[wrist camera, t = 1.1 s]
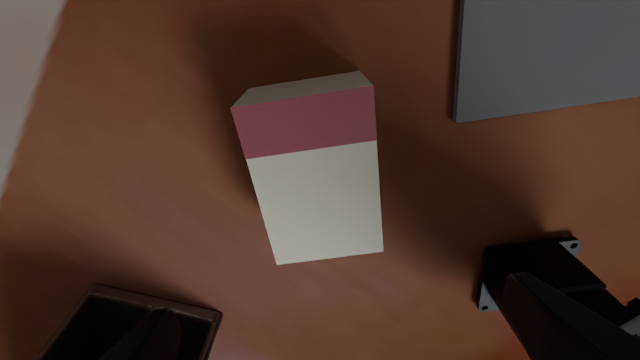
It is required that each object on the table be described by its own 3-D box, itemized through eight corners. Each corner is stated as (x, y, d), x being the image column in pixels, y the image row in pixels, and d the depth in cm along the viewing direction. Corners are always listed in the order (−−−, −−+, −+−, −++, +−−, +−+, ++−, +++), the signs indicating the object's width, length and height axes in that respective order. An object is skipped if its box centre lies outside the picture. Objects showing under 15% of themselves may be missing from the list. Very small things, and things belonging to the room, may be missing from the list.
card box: (371, 210, 20) (384, 251, 17) (282, 222, 20) (276, 265, 17) (360, 70, 16) (373, 85, 12) (248, 88, 16) (230, 108, 13)
